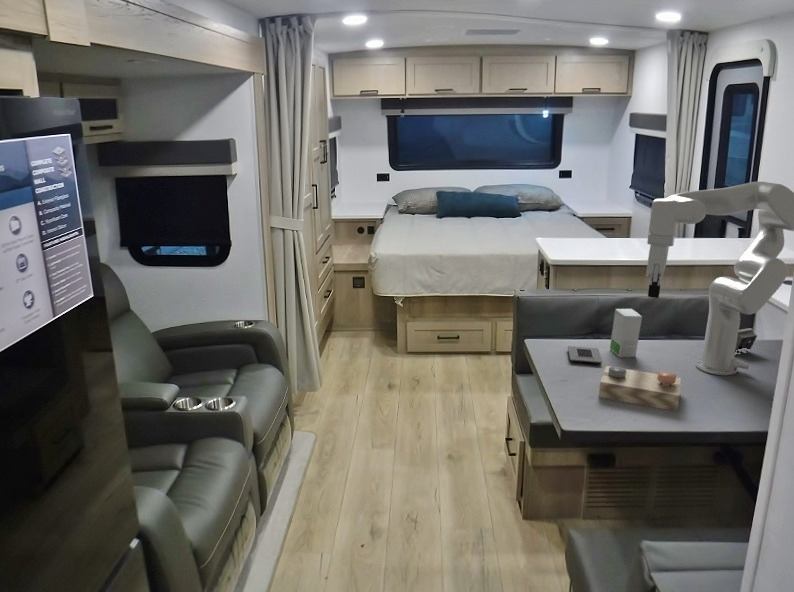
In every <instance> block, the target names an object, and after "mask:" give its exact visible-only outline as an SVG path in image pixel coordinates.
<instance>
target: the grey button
mask: <svg viewBox="0 0 794 592" xmlns="http://www.w3.org/2000/svg"><path fill="white" fill-rule="evenodd" d="M626 369H627V368H625V367H621V366H616V365H615V366H611V367H610V368H609V373H608V374H609V376H611V377H614V378H624V377H625V376H626Z"/></svg>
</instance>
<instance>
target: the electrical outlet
mask: <svg viewBox="0 0 794 592" xmlns="http://www.w3.org/2000/svg"><path fill="white" fill-rule="evenodd" d="M567 350H568V355H569V361H570V362H576V363H588V364H596V365H597V364H599V365H600V364H602V363H603V360H602V357H601V353H600V350H599V348H597V347H587V346H585V347H584V346H572V345H571V346H570V345H567Z"/></svg>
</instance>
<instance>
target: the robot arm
mask: <svg viewBox="0 0 794 592" xmlns="http://www.w3.org/2000/svg"><path fill="white" fill-rule="evenodd" d="M752 210H753V211H754V210H758V212H757V213H758V214H757V219H758V232H757V236H756V237H755V238H754V240H753V241H752V242H751V244H750V245H749V246H748V247H747V248H746V250H745V251H744V252H743V253H742V254H741V256H740V257H739V258H738V259H737V260H736V262H735V264H734V266H733V272H734V274H735V275H736V276H737V277H738V278H739V279H737V278H735V277H730V276H719V277H716V279H714V280H713V281H712V282H711V283H710V286H709V289H708V305H709V306H708V307H709V308H708V316H707V323H706V328H705V337H704V340H703V347H702V353H701V354H702V356H701V358H700V359H697V360H696V362H695V366H696V368H698V369H699V370H701V371H702V372H704V373H708V374H712V375H717V376H732V375H735V374H737V371H738V369H743V370H744V369H745V370H749V367H750V364H749V363H746V362H745V361H744V360H738V359H736V358H735V357H736V355H734V354H735V348H736V342H737V337H738V331H739V330H740V324H741V314H743V315H753V314H755V313H757V312H759V311H760V310H761V309H762V308H763V307H764V306H765V305H766V303H767V302H768V301H769V300H770V299H771V298H772V296H773V295H775V294H776V292H777V291H778V290H779V289H780V288H781V286H782V285H783V283H784V282H785V280H786V278H787V275H788V267H787V265H786V263H785V262H784V261H783V260H782V259H779V258H778V256H779V255H780V253H781V252H782V251H783V249H784V246H785V233H784V230H786V231H790V232H794V191H792V189H790V188H788V187H787V186H785V185H783V184H780V183H775V182H768V181H751V182H747V183H743V184H738V185H734V186H733V185H732V186H728V187H723V188H713V189H702V190H693V191H692V190H691V191H686V192H682V193H677V194H672V195H670V196H668V197H666V198H656V199H654V200H653V201H652V203H651V211H650V218H649V227H648V233H647V241H646V243H647V245H650V246H649V251H648V256H647V257H648V259H647V266H646V274H645V275H646V277H649V276H650V283H649V284H648V285H649V286H648V291H647V292H648V293H647V297H648V298H655V299H659V297H660V292H661V291H660V290H661V284H660V283H661V280H662V278H663V277H664V275H665V270H666V266H667V261H668V254H669V249H670V247H673V246H674V242H675V235H676V234H675V233H676V230H677V224H686V225H695V224H698V223H700V222H701V221H703V220H704V218H705V217H706V215H711V216H730V215H734V214H740V213H743V212H748V211H752ZM741 279H742V280H741ZM743 280H745V281H747V282H745V281H743Z"/></svg>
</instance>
